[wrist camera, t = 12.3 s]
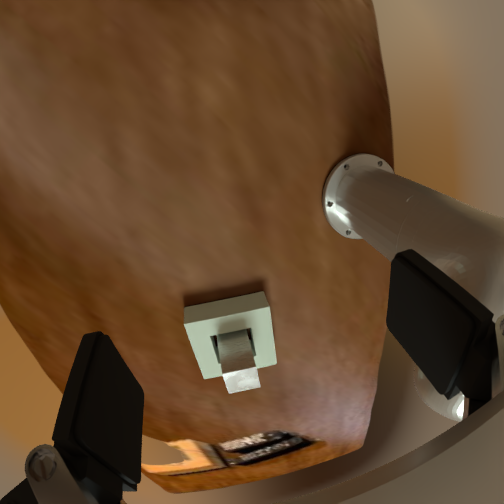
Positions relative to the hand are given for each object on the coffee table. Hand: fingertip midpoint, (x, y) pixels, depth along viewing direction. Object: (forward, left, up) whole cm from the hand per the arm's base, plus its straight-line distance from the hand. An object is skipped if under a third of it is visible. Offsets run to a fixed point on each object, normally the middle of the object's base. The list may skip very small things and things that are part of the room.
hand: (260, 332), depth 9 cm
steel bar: (+1, +25, -30) cm, 39 cm away
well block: (+2, +25, -30) cm, 39 cm away
